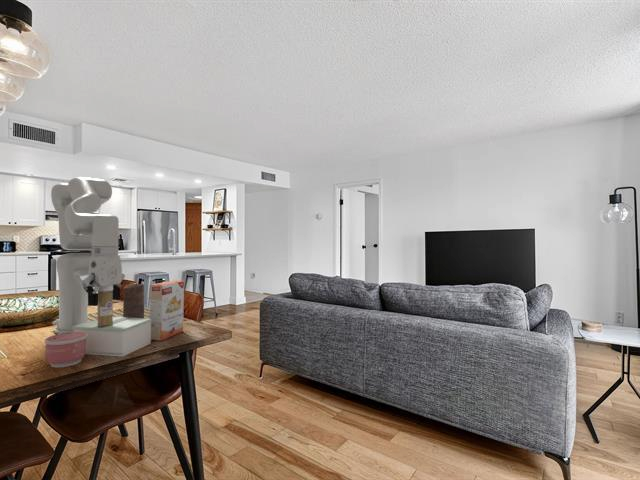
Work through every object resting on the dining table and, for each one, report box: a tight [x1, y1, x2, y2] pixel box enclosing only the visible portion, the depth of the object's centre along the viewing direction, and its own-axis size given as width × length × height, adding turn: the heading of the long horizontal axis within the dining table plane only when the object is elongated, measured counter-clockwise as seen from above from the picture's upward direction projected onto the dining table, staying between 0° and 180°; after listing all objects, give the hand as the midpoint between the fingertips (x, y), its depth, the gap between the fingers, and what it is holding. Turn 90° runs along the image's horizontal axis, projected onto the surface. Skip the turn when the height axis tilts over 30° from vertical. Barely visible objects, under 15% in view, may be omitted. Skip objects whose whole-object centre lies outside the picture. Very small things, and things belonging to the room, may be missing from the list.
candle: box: [122, 283, 145, 318], centre depth 135 cm, size 8×7×20 cm
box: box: [74, 322, 152, 358], centre depth 119 cm, size 18×14×8 cm
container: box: [44, 332, 87, 368], centre depth 105 cm, size 10×10×8 cm
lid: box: [72, 316, 152, 332], centre depth 119 cm, size 19×14×1 cm
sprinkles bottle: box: [96, 285, 114, 326], centre depth 115 cm, size 5×5×13 cm
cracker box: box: [148, 280, 185, 342], centre depth 134 cm, size 14×6×21 cm, turn 168°
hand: (104, 302), depth 115 cm, fingers open, 9 cm apart
